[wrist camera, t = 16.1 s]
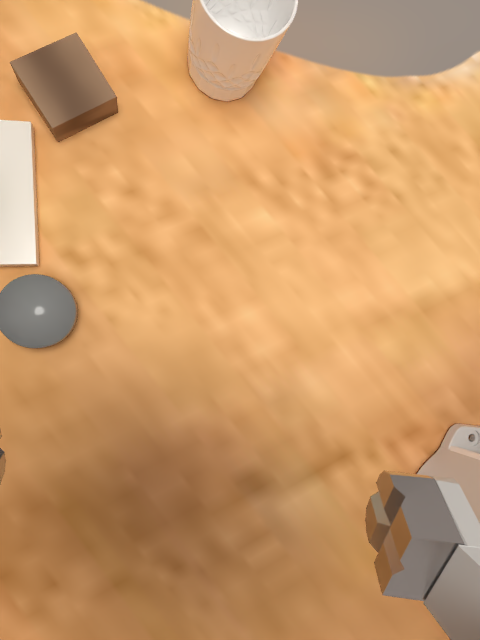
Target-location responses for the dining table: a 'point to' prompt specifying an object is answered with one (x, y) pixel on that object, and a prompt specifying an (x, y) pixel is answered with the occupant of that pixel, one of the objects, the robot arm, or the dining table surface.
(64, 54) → the walnut block
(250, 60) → the white cup
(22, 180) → the plate
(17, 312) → the grey domed disc
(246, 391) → the dining table surface
